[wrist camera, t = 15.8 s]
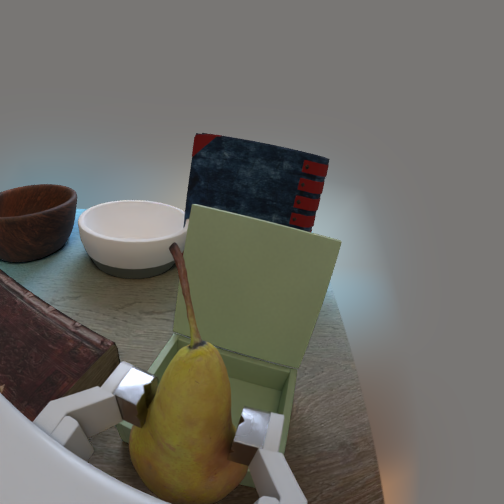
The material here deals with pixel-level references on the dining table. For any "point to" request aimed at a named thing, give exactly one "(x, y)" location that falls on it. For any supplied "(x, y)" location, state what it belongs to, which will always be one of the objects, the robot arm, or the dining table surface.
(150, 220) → the bowl
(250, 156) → the book
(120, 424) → the chest
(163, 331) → the dining table surface
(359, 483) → the dining table surface
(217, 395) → the fruit
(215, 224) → the chest lid
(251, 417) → the robot arm
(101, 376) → the hardback book
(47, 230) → the wooden bowl
